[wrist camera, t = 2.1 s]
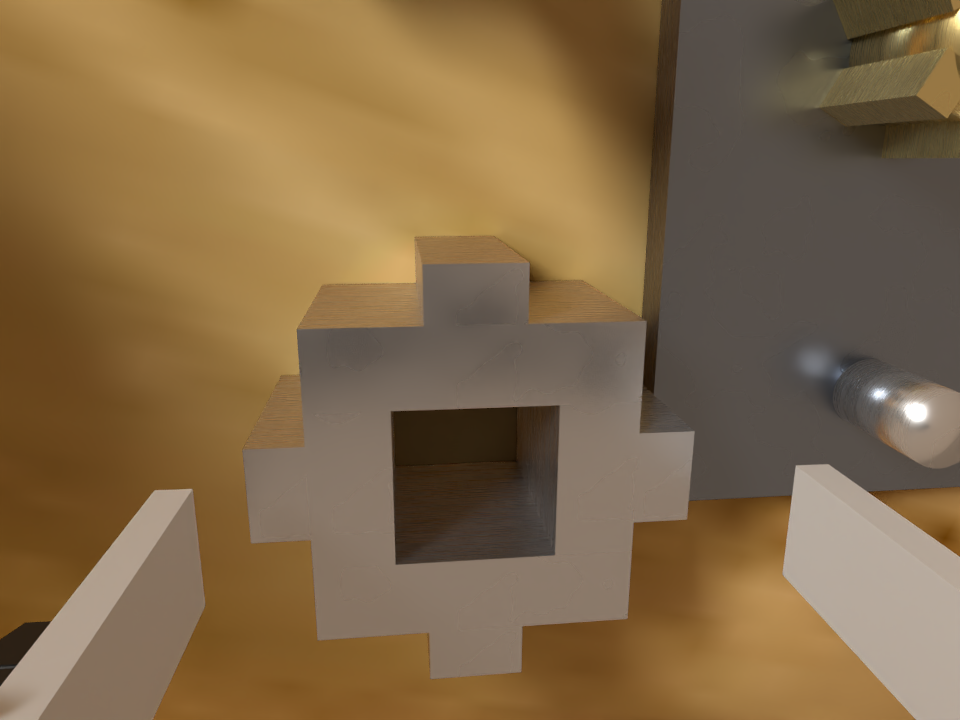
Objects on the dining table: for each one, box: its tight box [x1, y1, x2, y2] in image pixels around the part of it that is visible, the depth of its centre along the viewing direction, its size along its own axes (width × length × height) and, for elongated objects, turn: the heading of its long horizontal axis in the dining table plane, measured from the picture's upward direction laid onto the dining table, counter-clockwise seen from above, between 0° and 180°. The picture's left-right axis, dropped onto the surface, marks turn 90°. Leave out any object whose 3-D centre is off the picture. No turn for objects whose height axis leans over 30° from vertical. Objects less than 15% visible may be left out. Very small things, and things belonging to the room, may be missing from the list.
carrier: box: [642, 0, 960, 501], centre depth 20 cm, size 14×22×6 cm, turn 0°
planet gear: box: [243, 236, 695, 679], centre depth 20 cm, size 11×11×6 cm
